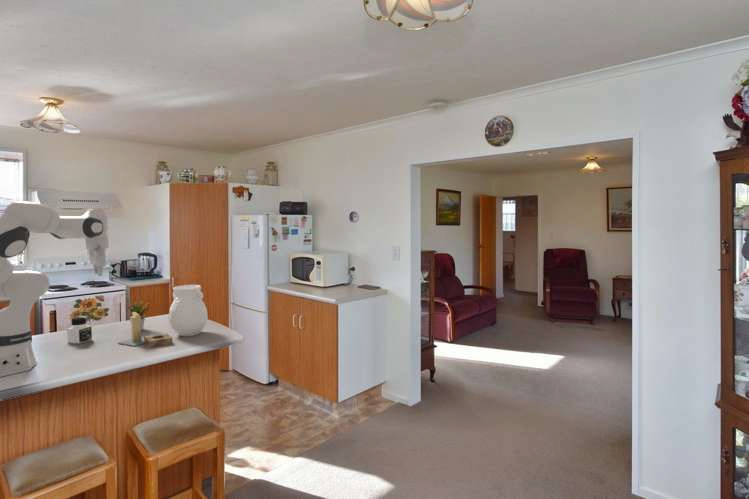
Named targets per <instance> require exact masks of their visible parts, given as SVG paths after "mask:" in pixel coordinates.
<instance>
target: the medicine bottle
mask: <svg viewBox="0 0 749 499" xmlns="http://www.w3.org/2000/svg"><path fill="white" fill-rule="evenodd" d="M70 321H71V322H70V323H71V327H68V328H67V327H66V334H67V337H66V338H67V343H68V344H76V343H77V345H78V344H83V343H87V342H89V341H91V340H92V339H93V334H92V333H93V332H92V331H93V330H92V325H88V324H87V323H88V322H87V316H84V315H83V316H81V315H80V316H75V317H72V318H71V319H70Z"/></svg>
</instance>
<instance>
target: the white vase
mask: <svg viewBox="0 0 749 499" xmlns="http://www.w3.org/2000/svg"><path fill="white" fill-rule="evenodd" d="M172 289H173V292H172V298H173V301H172V303H171V305H170V308H169V312H168V322H169V325H170V327H171V329H172V330H173V331H174V332H175V333H177V335H179V336H180V337H193V336H197V335H199V334H200V333H201V331H203V330H204V328H205V326H206V325H207V322H208V320H209V319H208V318H209V315H208V308H207V306H206V304H205V302H204V301H203V298H204V293H203V292H202V290H201V289H202V285H200V284H184V285H177V286H174V287H173V288H172Z"/></svg>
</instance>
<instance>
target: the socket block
mask: <svg viewBox="0 0 749 499" xmlns="http://www.w3.org/2000/svg"><path fill="white" fill-rule="evenodd" d="M143 338H144V341H145V344H144V345H146V346H148V348H155V347H156V348H157V347H162V346H167V345H172V344H173V337H172V336H171V335H170V334H168V333H167V332H165V333H159V334H152V335H146V336H143Z"/></svg>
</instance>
